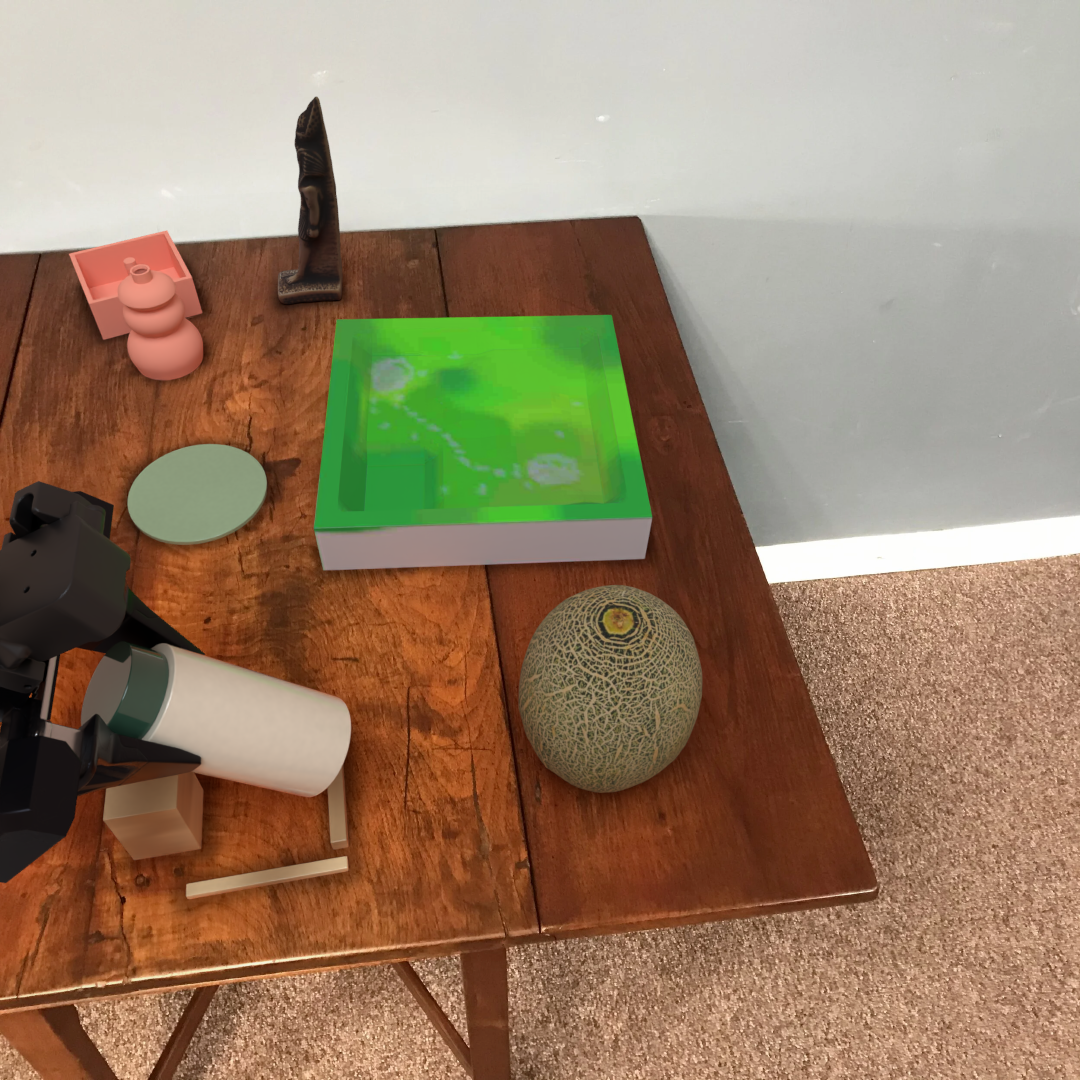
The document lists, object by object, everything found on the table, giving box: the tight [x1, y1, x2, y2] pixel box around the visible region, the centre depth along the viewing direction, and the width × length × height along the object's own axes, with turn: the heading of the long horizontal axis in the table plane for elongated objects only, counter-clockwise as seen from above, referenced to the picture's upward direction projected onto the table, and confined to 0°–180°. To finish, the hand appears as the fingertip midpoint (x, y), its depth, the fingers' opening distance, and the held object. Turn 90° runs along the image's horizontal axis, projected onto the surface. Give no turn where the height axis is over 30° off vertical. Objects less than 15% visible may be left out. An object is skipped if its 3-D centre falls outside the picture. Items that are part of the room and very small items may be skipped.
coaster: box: [126, 443, 268, 546], centre depth 77 cm, size 11×11×1 cm
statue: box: [277, 96, 344, 305], centre depth 88 cm, size 4×7×20 cm, turn 100°
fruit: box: [518, 584, 703, 794], centre depth 58 cm, size 11×11×15 cm
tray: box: [313, 314, 653, 571], centre depth 79 cm, size 25×25×5 cm
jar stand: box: [102, 764, 350, 900], centre depth 57 cm, size 13×10×6 cm
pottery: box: [68, 230, 204, 381], centre depth 87 cm, size 18×10×10 cm, turn 29°
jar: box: [80, 641, 352, 798], centre depth 51 cm, size 13×6×13 cm, turn 101°
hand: (199, 711), depth 50 cm, fingers closed on jar, 6 cm apart
